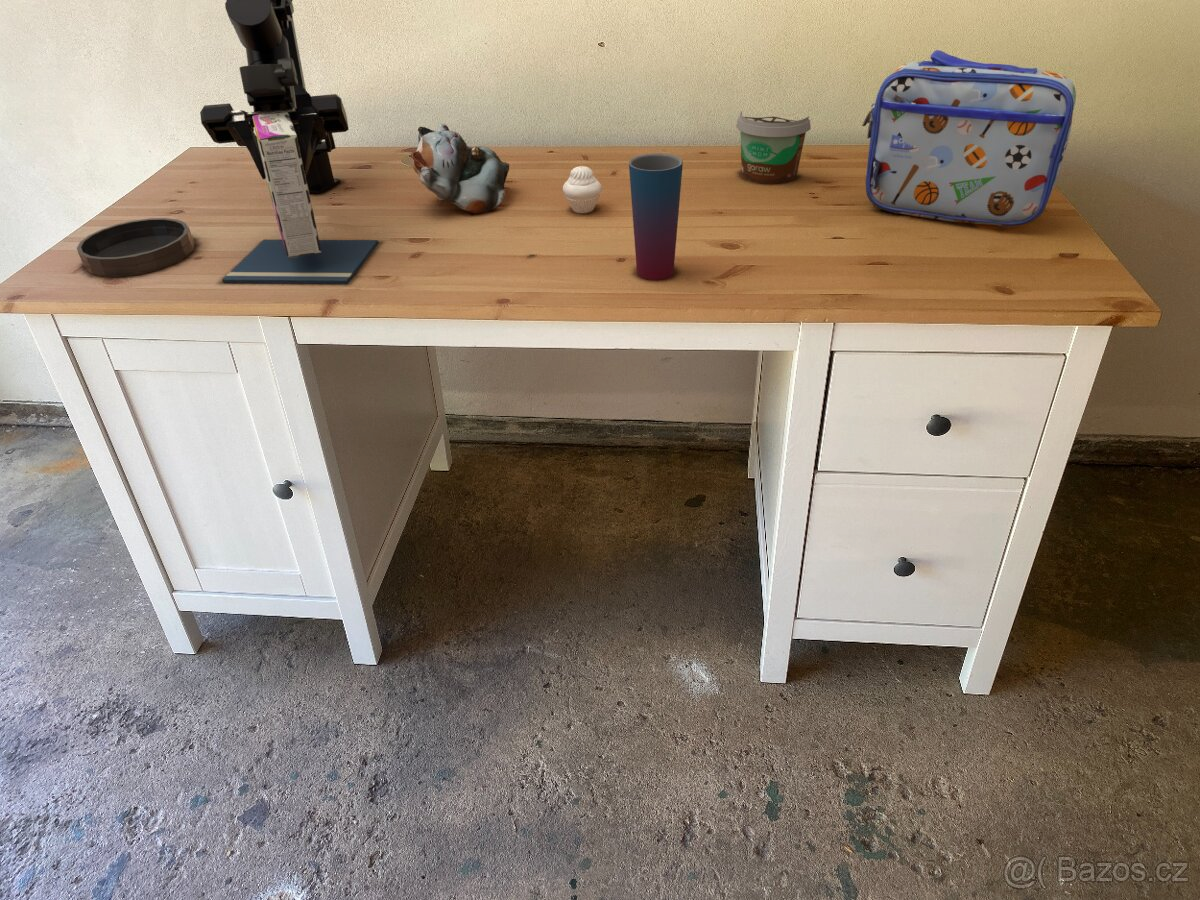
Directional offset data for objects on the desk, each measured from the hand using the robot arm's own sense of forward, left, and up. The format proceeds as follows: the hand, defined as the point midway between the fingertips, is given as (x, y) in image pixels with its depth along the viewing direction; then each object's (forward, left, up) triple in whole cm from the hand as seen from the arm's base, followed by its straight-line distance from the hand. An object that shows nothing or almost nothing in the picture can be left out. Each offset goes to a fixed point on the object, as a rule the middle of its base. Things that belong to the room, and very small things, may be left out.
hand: (283, 175), depth 115 cm
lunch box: (-87, -41, -12) cm, 97 cm away
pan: (+25, +7, -12) cm, 28 cm away
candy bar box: (-1, +2, -9) cm, 9 cm away
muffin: (-33, -28, -12) cm, 45 cm away
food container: (-58, -49, -12) cm, 77 cm away
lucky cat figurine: (-13, -26, -12) cm, 31 cm away
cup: (-51, -9, -12) cm, 53 cm away
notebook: (-1, +2, -12) cm, 12 cm away
